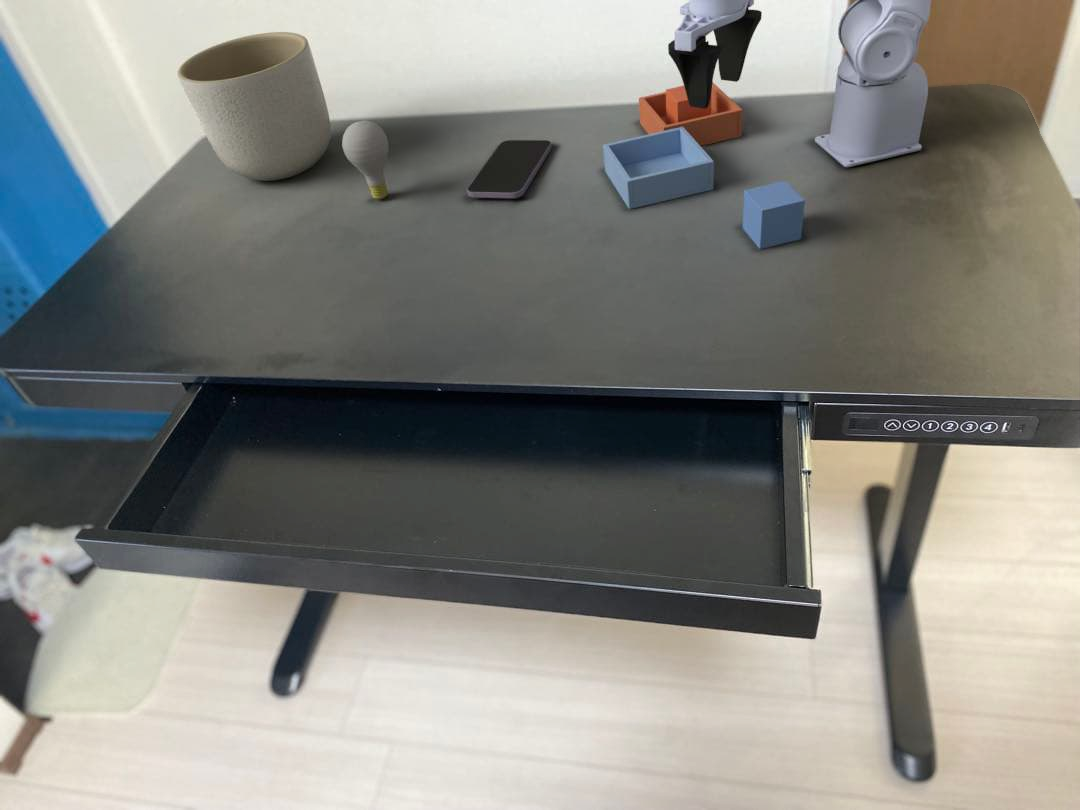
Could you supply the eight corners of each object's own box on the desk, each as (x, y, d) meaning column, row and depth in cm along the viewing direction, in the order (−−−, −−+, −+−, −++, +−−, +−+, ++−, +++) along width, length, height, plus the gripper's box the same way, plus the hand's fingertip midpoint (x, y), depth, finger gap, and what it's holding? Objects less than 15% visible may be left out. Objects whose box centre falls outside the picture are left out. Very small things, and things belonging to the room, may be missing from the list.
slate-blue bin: (683, 153, 99) (683, 126, 97) (713, 189, 91) (714, 161, 89) (604, 171, 98) (602, 144, 96) (629, 209, 91) (627, 181, 88)
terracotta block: (698, 115, 105) (698, 81, 102) (711, 128, 102) (711, 94, 99) (666, 123, 105) (665, 89, 102) (677, 136, 101) (677, 102, 98)
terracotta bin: (711, 106, 108) (712, 81, 105) (741, 136, 100) (742, 109, 98) (639, 123, 107) (638, 97, 105) (664, 154, 99) (663, 127, 97)
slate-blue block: (782, 218, 85) (785, 180, 82) (801, 239, 82) (805, 200, 79) (742, 228, 85) (744, 190, 82) (759, 249, 81) (762, 210, 78)
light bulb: (410, 189, 102) (389, 114, 95) (387, 211, 98) (364, 134, 92) (375, 186, 104) (353, 111, 97) (352, 206, 101) (327, 131, 94)
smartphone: (553, 139, 105) (520, 193, 95) (554, 148, 106) (521, 201, 95) (502, 140, 107) (463, 192, 97) (503, 147, 108) (465, 200, 97)
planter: (304, 196, 104) (261, 81, 94) (200, 192, 110) (149, 82, 100) (363, 138, 116) (331, 29, 105) (267, 136, 121) (227, 33, 111)
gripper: (714, -60, 87) (712, 65, 97) (646, -18, 80) (652, 113, 89) (775, -58, 84) (767, 71, 93) (710, -14, 76) (709, 122, 85)
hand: (714, 92), depth 91 cm, fingers open, 7 cm apart
